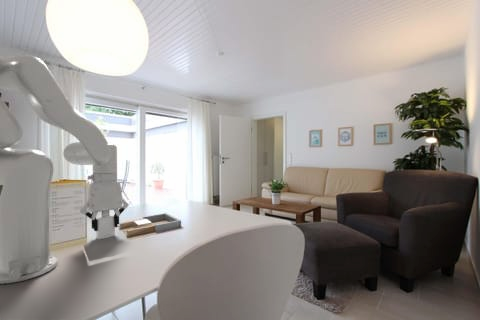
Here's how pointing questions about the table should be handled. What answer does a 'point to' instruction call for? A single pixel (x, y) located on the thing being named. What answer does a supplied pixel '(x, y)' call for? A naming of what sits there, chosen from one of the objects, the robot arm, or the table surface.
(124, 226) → the slotted board
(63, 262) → the table surface
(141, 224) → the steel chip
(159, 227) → the grey tray
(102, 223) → the eye dropper bottle
